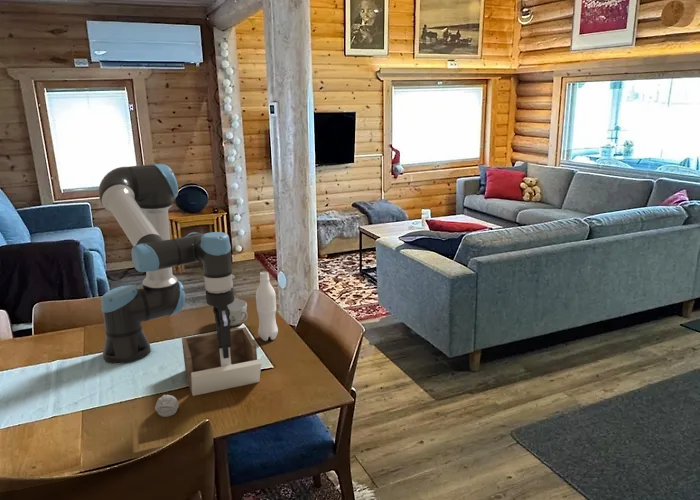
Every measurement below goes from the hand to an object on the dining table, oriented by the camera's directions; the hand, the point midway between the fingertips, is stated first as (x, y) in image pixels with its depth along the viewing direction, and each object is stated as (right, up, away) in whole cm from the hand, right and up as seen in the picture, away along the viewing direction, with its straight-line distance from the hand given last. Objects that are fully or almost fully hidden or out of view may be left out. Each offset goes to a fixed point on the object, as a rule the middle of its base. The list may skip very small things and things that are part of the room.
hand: (226, 366), depth 152 cm
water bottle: (+6, +1, +43) cm, 43 cm away
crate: (-5, -7, +14) cm, 16 cm away
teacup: (-10, +4, +57) cm, 58 cm away
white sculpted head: (-14, -13, -7) cm, 20 cm away
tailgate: (-2, -7, +6) cm, 9 cm away
